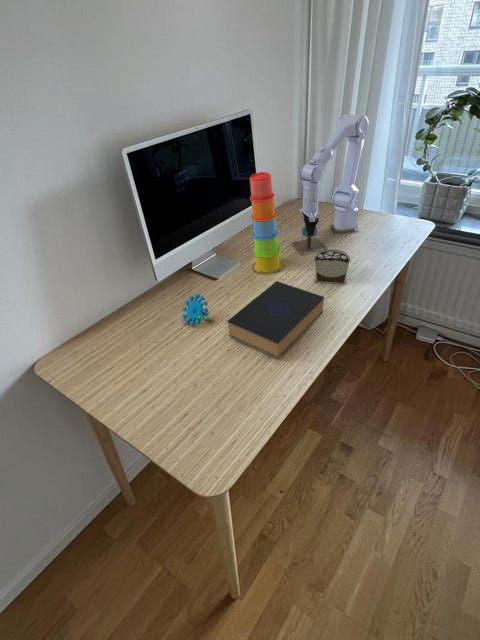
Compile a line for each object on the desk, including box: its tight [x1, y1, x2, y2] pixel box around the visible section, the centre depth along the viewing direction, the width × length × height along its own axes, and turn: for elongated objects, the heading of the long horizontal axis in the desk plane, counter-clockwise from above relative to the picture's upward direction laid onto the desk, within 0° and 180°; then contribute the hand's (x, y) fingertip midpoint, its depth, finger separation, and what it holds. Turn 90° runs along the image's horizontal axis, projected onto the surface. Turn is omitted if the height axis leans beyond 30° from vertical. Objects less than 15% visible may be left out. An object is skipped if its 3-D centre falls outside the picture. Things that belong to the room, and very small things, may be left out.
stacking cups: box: [249, 171, 282, 275], centre depth 133 cm, size 10×10×35 cm
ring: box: [301, 225, 318, 238], centre depth 150 cm, size 6×6×2 cm
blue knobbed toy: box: [181, 293, 213, 327], centre depth 120 cm, size 11×6×10 cm
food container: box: [312, 248, 352, 285], centre depth 131 cm, size 12×6×10 cm, turn 74°
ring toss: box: [292, 236, 327, 254], centre depth 153 cm, size 10×10×5 cm
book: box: [226, 280, 325, 360], centre depth 113 cm, size 17×25×7 cm
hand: (309, 231), depth 150 cm, fingers closed on ring, 5 cm apart
